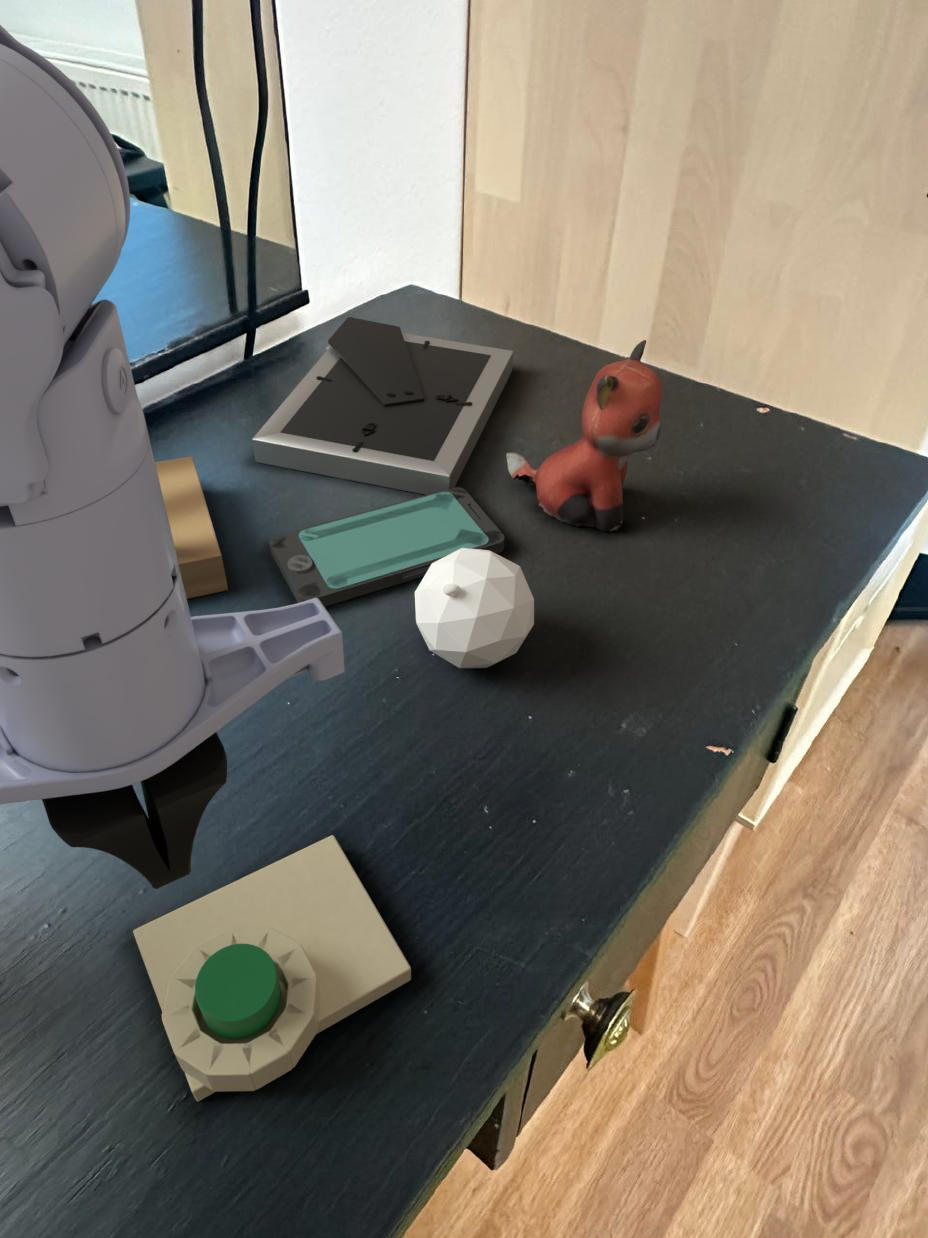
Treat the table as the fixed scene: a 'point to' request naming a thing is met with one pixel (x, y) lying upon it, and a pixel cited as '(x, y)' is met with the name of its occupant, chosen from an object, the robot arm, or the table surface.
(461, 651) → the ornament
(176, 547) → the brown flat block
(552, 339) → the table surface
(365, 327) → the picture frame
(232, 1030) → the release button
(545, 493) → the stuffed fox
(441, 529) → the smartphone
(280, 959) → the box
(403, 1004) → the table surface
